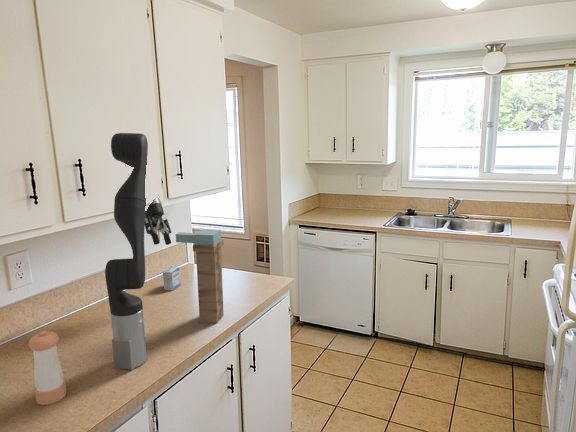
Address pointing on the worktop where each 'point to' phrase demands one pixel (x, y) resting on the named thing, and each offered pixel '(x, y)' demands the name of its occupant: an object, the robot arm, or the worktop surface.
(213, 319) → the walnut stand
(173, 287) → the medicine box
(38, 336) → the salt shaker
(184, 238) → the blue-grey stepped block
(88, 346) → the worktop surface
